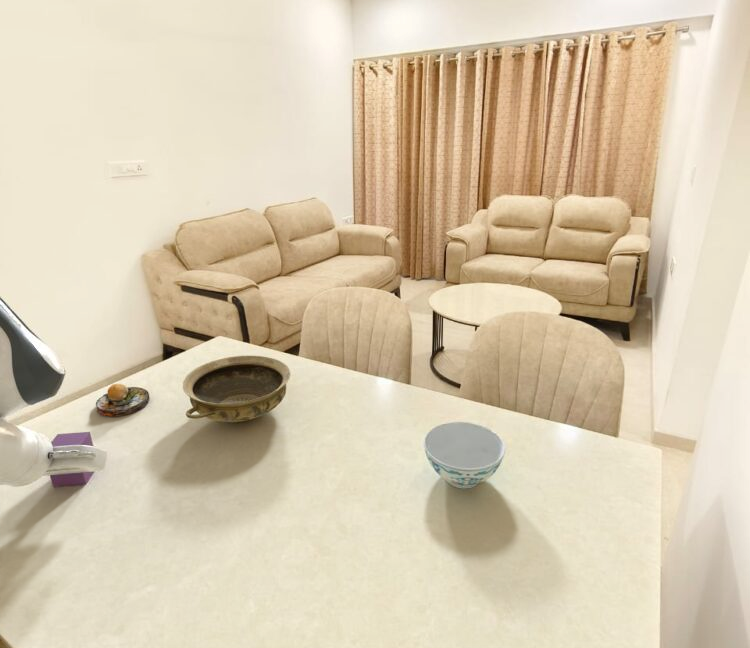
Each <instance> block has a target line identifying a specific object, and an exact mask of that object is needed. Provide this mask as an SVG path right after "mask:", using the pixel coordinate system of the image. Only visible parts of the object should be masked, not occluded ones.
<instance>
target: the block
mask: <svg viewBox="0 0 750 648" xmlns="http://www.w3.org/2000/svg"><path fill="white" fill-rule="evenodd" d="M50 442H51V443H52V446H53V447H57V446H70V445H88V446H93V447H95V446H94V443H93V438H92V435H91V432H90V431H81V432H68V433H67V432H66V433H57V434H56V436H55V437H53V439H52V440H51V441H50ZM94 473H95V471H93V472H81V473H69V474H57V475H49V478H50V481H51V484H52V485H51V486H52V487H53V488H58V487H59V488H60V487H73V486H83V485H84V486H85V485H87V484H88V482H89V481H90V479H91V478H92V476H93V475H94Z"/></svg>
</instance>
